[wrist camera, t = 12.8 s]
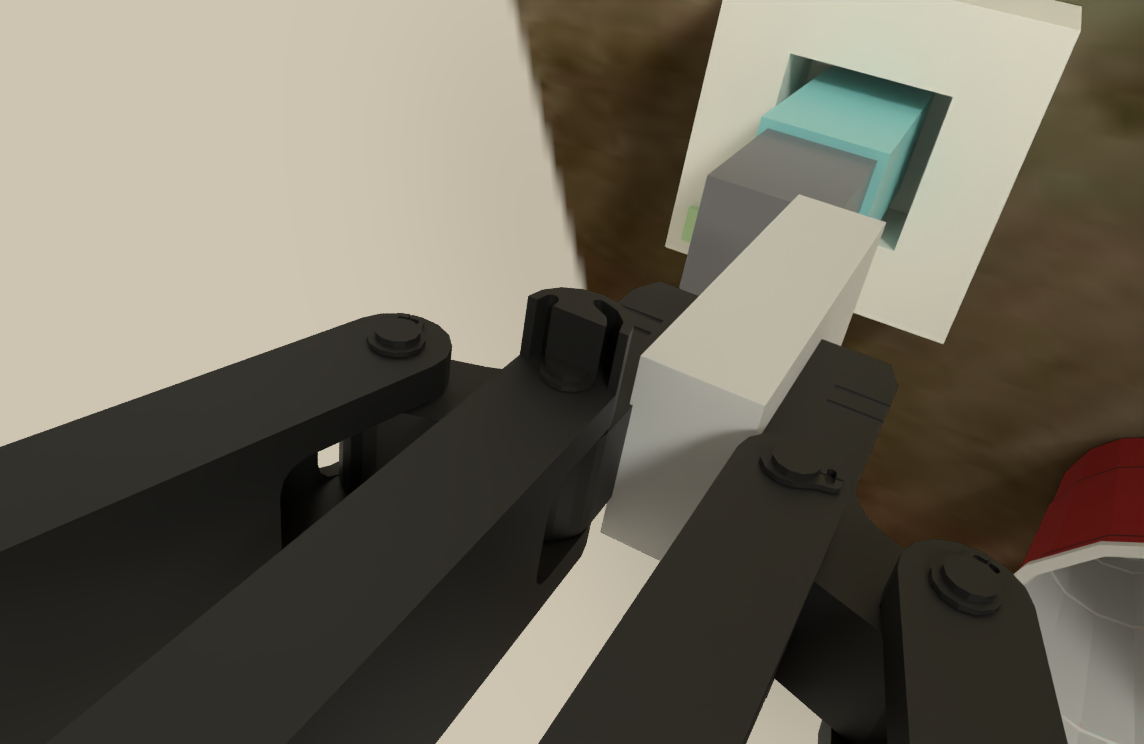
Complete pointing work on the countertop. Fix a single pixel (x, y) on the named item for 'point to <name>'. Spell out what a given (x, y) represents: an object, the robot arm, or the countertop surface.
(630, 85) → the countertop surface
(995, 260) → the countertop surface
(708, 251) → the plug
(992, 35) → the port
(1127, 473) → the plastic cup
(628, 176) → the countertop surface
